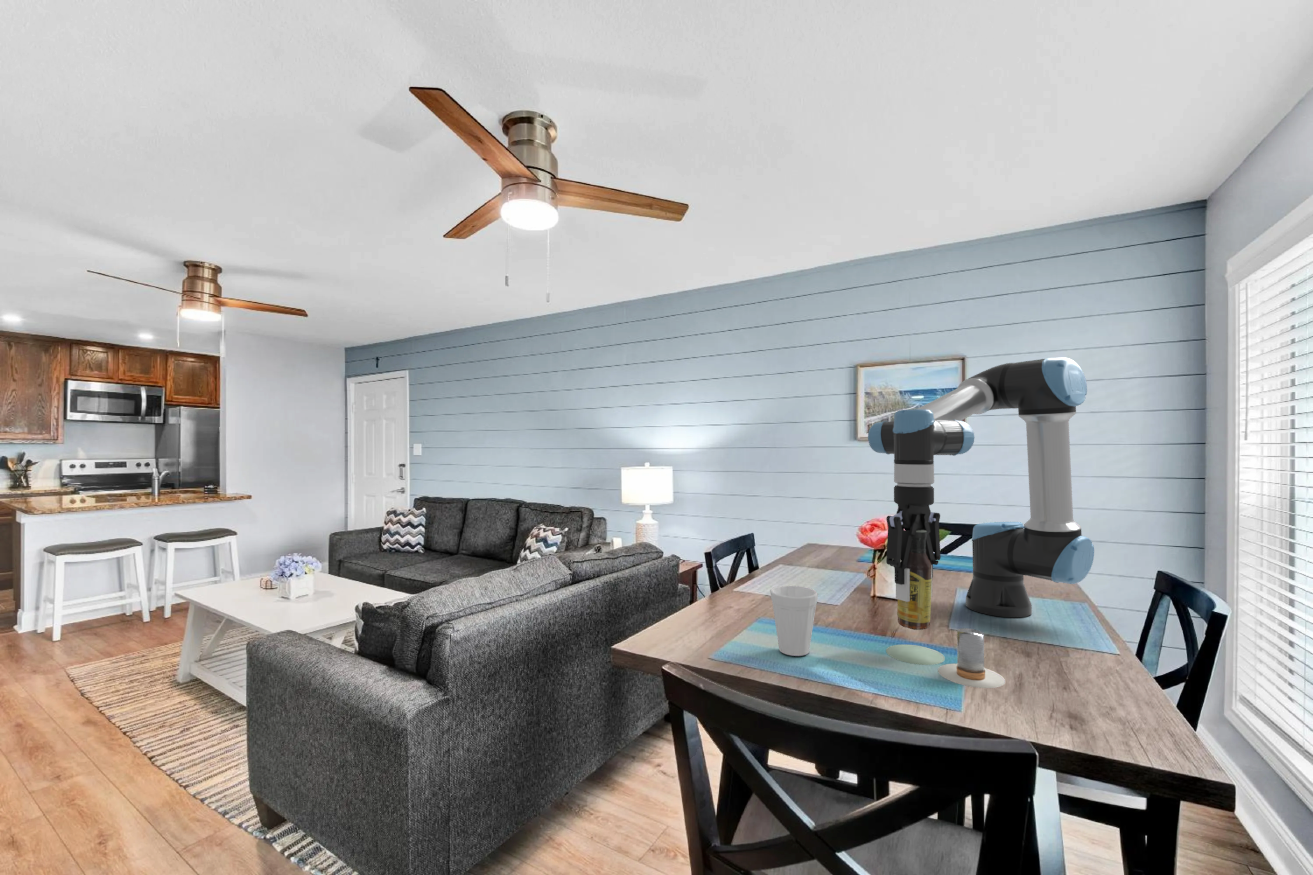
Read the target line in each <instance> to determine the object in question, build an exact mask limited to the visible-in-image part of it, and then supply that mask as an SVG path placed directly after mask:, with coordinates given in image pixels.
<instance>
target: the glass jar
mask: <svg viewBox="0 0 1313 875" xmlns="http://www.w3.org/2000/svg"><path fill="white" fill-rule="evenodd" d="M956 638H957V639H956V641H957V642H956V643H957V644H956V646H957V647H956V649H957V650H956V652H957V654H956V656H957V662H956V664H957V675H959V676H960V677H962V678H965V679H969V680H983V679H985V670H984V668H985V634H984V632H983V631H981V630H978V629H974V628H964V627H963V628H958V629H957V630H956Z"/></svg>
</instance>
